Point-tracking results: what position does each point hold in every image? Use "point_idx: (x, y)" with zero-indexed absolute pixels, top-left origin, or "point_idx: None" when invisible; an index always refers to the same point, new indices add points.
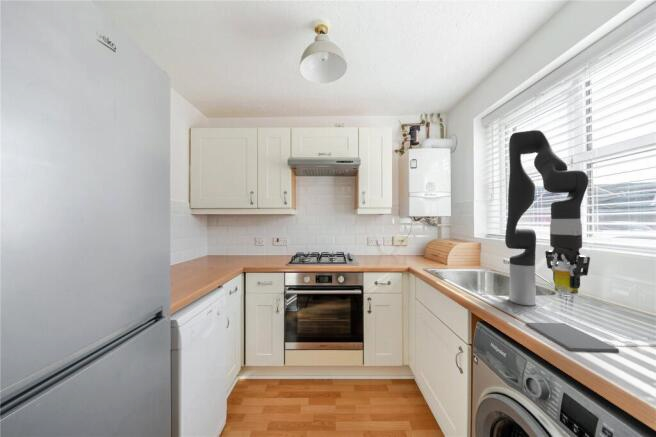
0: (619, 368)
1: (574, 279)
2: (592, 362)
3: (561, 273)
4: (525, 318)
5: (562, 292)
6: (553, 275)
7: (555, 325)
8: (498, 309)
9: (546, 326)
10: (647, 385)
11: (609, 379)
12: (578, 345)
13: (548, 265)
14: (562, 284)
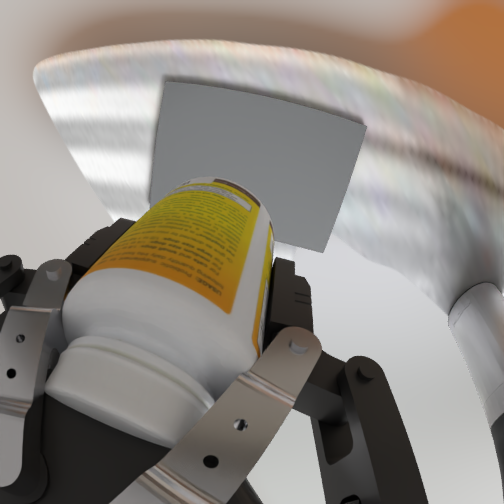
0: (92, 122)
1: (75, 254)
2: (116, 85)
3: (118, 250)
4: (407, 186)
5: (186, 181)
6: (308, 308)
7: (317, 205)
8: (485, 180)
9: (318, 164)
10: (52, 114)
11: (69, 62)
12: (175, 120)
13: (370, 385)
14: (163, 202)
